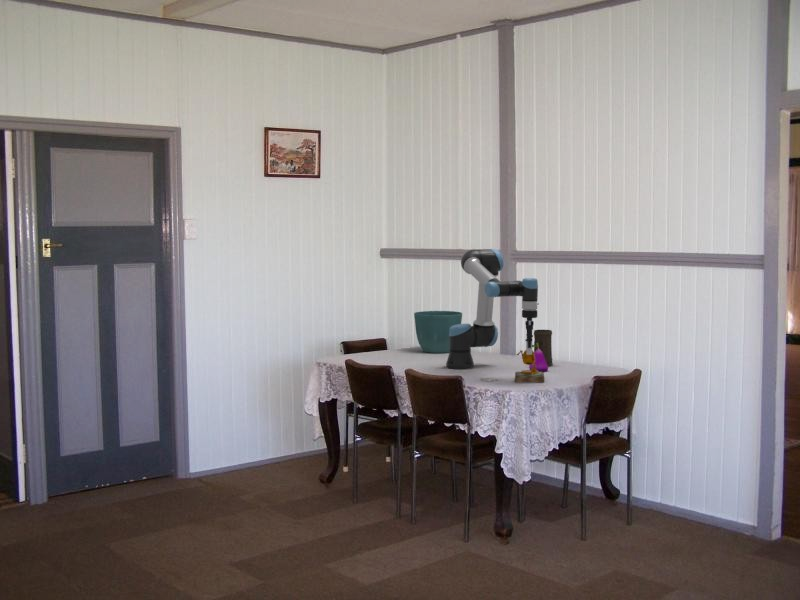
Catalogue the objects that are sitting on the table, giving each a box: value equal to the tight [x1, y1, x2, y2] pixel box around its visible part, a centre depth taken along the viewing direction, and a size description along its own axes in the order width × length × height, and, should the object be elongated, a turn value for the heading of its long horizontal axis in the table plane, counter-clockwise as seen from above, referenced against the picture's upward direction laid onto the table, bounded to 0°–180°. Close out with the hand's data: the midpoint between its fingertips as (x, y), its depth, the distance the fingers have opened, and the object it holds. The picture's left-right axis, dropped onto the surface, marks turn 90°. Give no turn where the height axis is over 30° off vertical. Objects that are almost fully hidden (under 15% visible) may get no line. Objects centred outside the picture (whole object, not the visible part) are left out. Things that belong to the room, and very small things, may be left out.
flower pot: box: [413, 310, 463, 354], centre depth 558 cm, size 30×30×24 cm
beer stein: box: [533, 329, 554, 368], centre depth 496 cm, size 15×11×20 cm
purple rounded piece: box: [528, 343, 549, 372], centre depth 475 cm, size 11×11×15 cm
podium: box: [514, 371, 545, 384], centre depth 445 cm, size 14×14×3 cm
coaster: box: [479, 377, 499, 383], centre depth 445 cm, size 9×9×1 cm
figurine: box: [516, 349, 539, 374], centre depth 446 cm, size 8×11×12 cm
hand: (529, 352), depth 444 cm, fingers open, 13 cm apart
